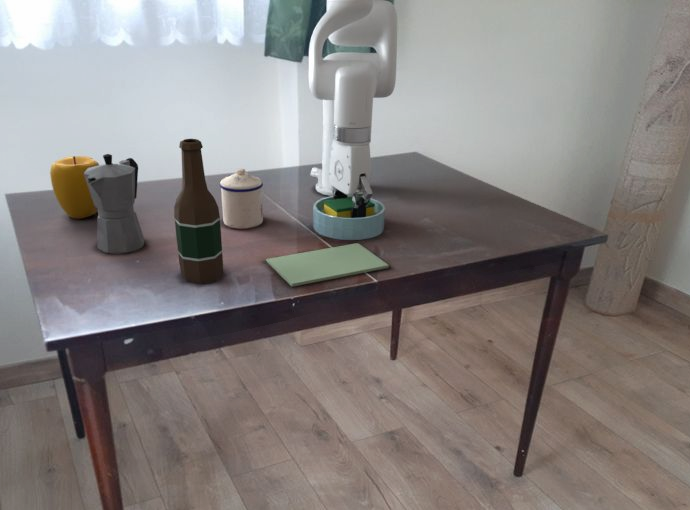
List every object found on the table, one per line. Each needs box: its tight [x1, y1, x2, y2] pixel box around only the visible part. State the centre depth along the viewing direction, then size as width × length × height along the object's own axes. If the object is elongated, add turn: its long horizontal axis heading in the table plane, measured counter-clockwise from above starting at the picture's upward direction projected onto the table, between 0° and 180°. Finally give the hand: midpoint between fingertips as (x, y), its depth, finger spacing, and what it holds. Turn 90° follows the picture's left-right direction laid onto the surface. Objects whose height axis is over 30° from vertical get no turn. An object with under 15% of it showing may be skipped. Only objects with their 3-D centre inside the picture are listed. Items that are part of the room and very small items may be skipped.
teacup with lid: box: [219, 167, 264, 230], centre depth 137 cm, size 12×9×12 cm
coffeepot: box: [84, 153, 145, 255], centre depth 123 cm, size 15×9×18 cm, turn 162°
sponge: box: [324, 195, 375, 218], centre depth 135 cm, size 9×6×6 cm, turn 116°
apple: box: [49, 155, 100, 220], centre depth 137 cm, size 11×11×13 cm
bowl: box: [312, 195, 386, 241], centre depth 135 cm, size 15×15×5 cm
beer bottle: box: [173, 138, 224, 285], centre depth 109 cm, size 8×8×24 cm
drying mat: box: [266, 242, 390, 287], centre depth 120 cm, size 20×12×1 cm, turn 116°
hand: (348, 218), depth 135 cm, fingers open, 7 cm apart
